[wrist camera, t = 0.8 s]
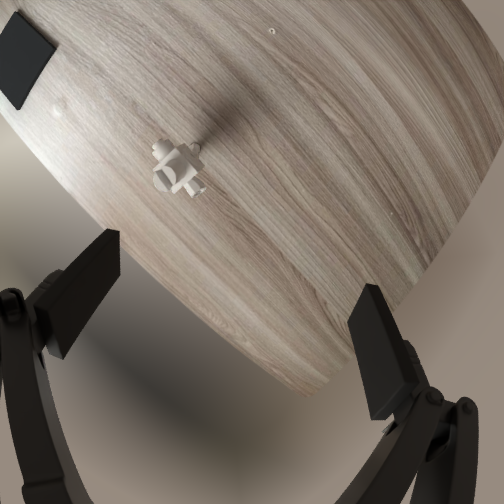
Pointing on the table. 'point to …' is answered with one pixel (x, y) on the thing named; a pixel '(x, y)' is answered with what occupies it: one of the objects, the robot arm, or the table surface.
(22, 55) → the mat
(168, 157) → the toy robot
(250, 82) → the table surface
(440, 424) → the robot arm
